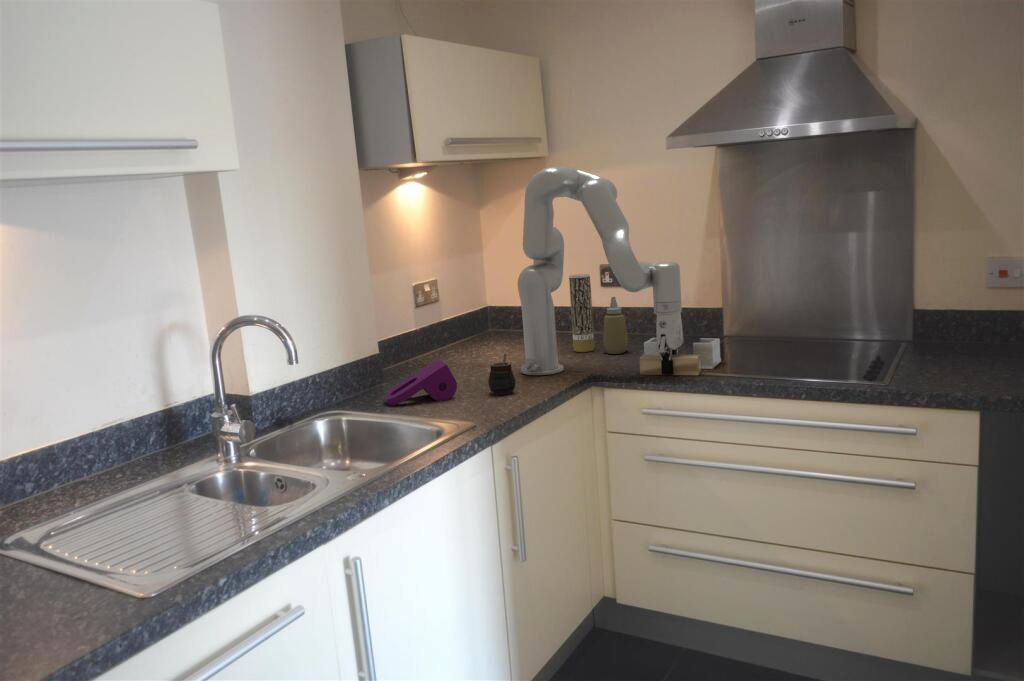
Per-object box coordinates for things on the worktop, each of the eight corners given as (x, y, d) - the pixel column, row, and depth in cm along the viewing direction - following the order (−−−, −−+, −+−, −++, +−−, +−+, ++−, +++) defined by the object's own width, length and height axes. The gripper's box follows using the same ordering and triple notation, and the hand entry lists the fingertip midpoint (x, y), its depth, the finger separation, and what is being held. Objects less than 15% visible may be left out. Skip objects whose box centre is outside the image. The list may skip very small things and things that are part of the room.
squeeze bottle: (626, 355, 266) (623, 298, 263) (601, 355, 268) (597, 299, 265) (631, 350, 273) (628, 294, 270) (606, 350, 276) (603, 295, 273)
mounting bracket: (404, 428, 220) (462, 390, 224) (388, 402, 218) (446, 364, 222) (398, 420, 229) (453, 384, 233) (381, 395, 227) (438, 358, 231)
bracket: (712, 368, 237) (711, 344, 235) (643, 366, 246) (642, 343, 245) (721, 361, 245) (720, 337, 244) (654, 360, 255) (653, 337, 253)
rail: (697, 375, 230) (697, 357, 229) (640, 374, 236) (639, 357, 236) (700, 372, 234) (699, 354, 233) (643, 371, 240) (642, 354, 239)
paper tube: (569, 350, 280) (565, 275, 276) (587, 348, 282) (583, 273, 278) (580, 353, 274) (575, 276, 269) (598, 350, 276) (593, 274, 272)
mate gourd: (486, 396, 223) (483, 359, 222) (492, 390, 231) (489, 354, 229) (513, 396, 222) (510, 358, 220) (518, 389, 229) (515, 353, 228)
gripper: (671, 311, 223) (674, 379, 226) (689, 302, 238) (691, 366, 241) (644, 312, 227) (647, 378, 230) (663, 303, 241) (666, 365, 244)
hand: (670, 371), depth 235 cm, fingers closed on rail, 4 cm apart
